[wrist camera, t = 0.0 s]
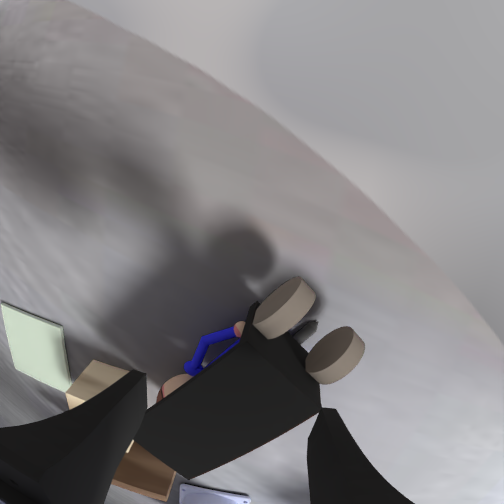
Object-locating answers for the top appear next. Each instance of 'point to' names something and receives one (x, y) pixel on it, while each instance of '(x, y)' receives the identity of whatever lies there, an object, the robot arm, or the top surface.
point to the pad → (37, 347)
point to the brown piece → (144, 474)
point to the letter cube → (93, 383)
